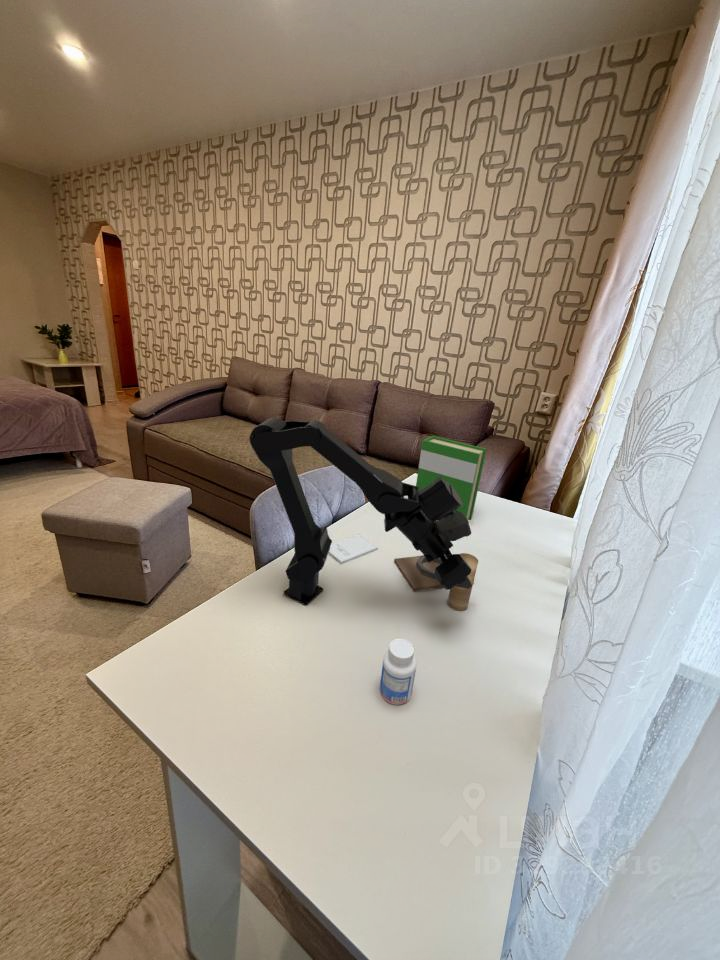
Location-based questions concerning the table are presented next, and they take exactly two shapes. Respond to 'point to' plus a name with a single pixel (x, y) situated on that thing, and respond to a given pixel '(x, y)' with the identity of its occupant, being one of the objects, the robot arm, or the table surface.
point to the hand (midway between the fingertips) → (461, 573)
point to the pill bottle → (398, 672)
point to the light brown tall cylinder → (462, 595)
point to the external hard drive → (351, 548)
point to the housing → (419, 572)
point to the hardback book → (452, 468)
